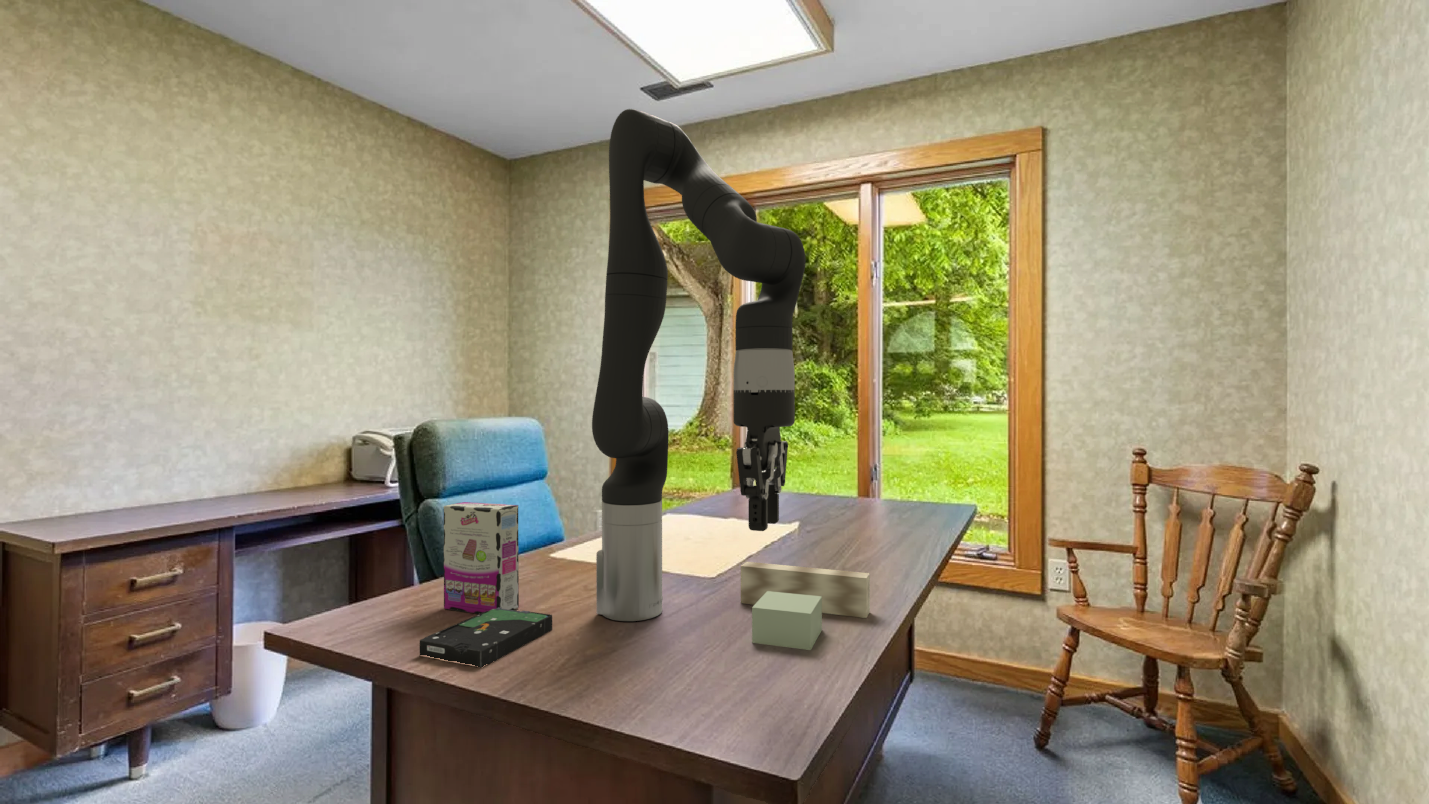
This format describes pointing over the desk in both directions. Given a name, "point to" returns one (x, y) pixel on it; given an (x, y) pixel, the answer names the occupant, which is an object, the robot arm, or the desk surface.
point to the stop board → (809, 586)
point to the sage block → (787, 620)
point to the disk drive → (486, 636)
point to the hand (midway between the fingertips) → (764, 525)
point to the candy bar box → (480, 557)
